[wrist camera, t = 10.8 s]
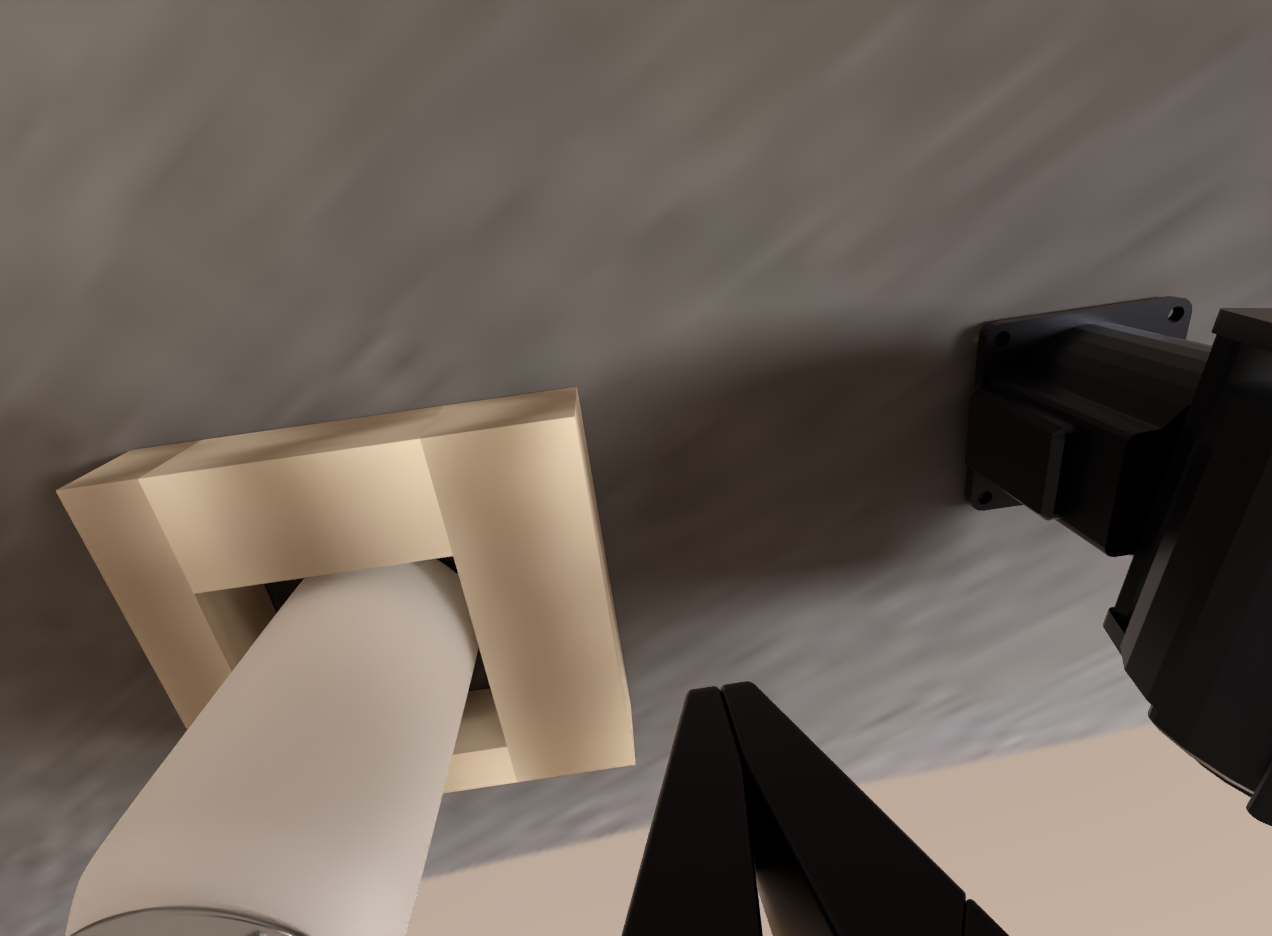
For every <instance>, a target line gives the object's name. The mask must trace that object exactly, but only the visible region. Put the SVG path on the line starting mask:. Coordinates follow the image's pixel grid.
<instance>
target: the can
mask: <svg viewBox="0 0 1272 936" xmlns="http://www.w3.org/2000/svg"><path fill="white" fill-rule="evenodd" d="M478 648H479V646H478V642H477V638H476V635H475V631H474V628H473V624H472V621H471V617H470V614H469V610H468V607H467V603H466V600H465V596H464V592H463V589H462V585H461V582H460V578H459V576H458V575H457V574H456V573H455V572H454V571H453V570H452V569H450V568H449V567H448V566H446V565H445V564H443V563H442V562H440V561H439V560H437V559H430V560H423V561H416V562H409V563H402V564H395V565H388V566H381V567H374V568H368V569H361V570H354V571H347V572H340V573H333V574H326V575H319V576H313V577H306V578H304V579H303V580H302V582H301V583H300V584H299V585H298V586H297V588H296V589H295V590H294V592H293V593H292V594H291V595H290V597H289V598H288V599H287V601H286V602H285V603H284V604H283V606H282V607H281V608H280V610H279V611H278V612H277V613H276V615H275V616H274V617H273V619H272V620H271V621H270V623H269V624H268V625H267V626H266V628H265V629H264V630H263V632H262V633H261V634H260V636H259V637H258V638H257V639H256V641H255V642H254V643H253V645H252V646H251V647H250V649H249V650H248V651H247V652H246V654H245V655H244V656H243V658H242V659H241V660H240V662H239V663H238V664H237V666H236V667H235V668H234V669H233V671H232V672H231V673H230V675H229V676H228V677H227V679H226V680H225V681H224V683H223V684H222V685H221V686H220V688H219V689H218V690H217V692H216V693H215V694H214V696H213V697H212V698H211V700H210V701H209V702H208V704H207V705H206V706H205V707H204V709H203V710H202V711H201V713H200V714H199V715H198V717H197V718H196V719H195V721H194V722H193V723H192V725H191V726H190V727H189V728H188V730H187V731H186V732H185V734H184V735H183V736H182V738H181V739H180V740H179V742H178V743H177V744H176V746H175V747H174V748H173V750H172V751H171V752H170V754H169V755H168V756H167V757H166V759H165V760H164V761H163V763H162V764H161V765H160V767H159V768H158V769H157V771H156V772H155V773H154V775H153V776H152V777H151V779H150V780H149V781H148V783H147V784H146V785H145V787H144V788H143V789H142V791H141V792H140V793H139V795H138V796H137V797H136V799H135V800H134V801H133V803H132V804H131V805H130V807H129V808H128V809H127V811H126V812H125V813H124V815H123V816H122V817H121V819H120V820H119V821H118V823H117V824H116V825H115V827H114V828H113V829H112V831H111V832H110V834H109V835H108V836H107V838H106V839H105V840H104V842H103V843H102V845H101V846H100V847H99V849H98V850H97V852H96V853H95V854H94V856H93V858H92V859H91V861H90V863H89V864H88V866H87V867H86V869H85V871H84V872H83V874H82V876H81V878H80V881H79V883H78V886H77V889H76V892H75V895H74V899H73V902H72V906H71V911H70V915H69V920H68V925H67V930H66V935H65V936H405V935H406V933H407V929H408V926H409V922H410V919H411V915H412V911H413V908H414V904H415V901H416V897H417V893H418V889H419V885H420V881H421V877H422V874H423V870H424V866H425V862H426V858H427V854H428V850H429V846H430V842H431V838H432V834H433V830H434V827H435V823H436V819H437V815H438V811H439V807H440V803H441V799H442V795H443V791H444V787H445V783H446V779H447V775H448V771H449V767H450V763H451V759H452V755H453V751H454V747H455V743H456V739H457V735H458V731H459V727H460V723H461V719H462V715H463V710H464V706H465V702H466V698H467V694H468V690H469V686H470V682H471V678H472V674H473V670H474V665H475V661H476V657H477V653H478Z"/></svg>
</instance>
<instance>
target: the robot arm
mask: <svg viewBox="0 0 1272 936" xmlns="http://www.w3.org/2000/svg"><path fill="white" fill-rule="evenodd" d="M1172 309H1173V313H1172V315H1171V316H1170V317H1169V318H1168V314H1169V312H1170V311H1171V310H1172ZM1191 314H1192V305H1191V303H1190V301H1189V300H1187V299H1185V298H1179V297H1172V296H1167V297H1160V298H1153V299H1146V300H1139V301H1132V302H1125V303H1118V304H1111V305H1104V306H1097V307H1090V308H1083V309H1075V310H1068V311H1061V312H1054V313H1047V314H1040V315H1033V316H1026V317H1019V318H1012V319H1005V320H998V321H994V322H991V323H989V324H988V325H986V326H985V327H984V328H983V330H982V331H981V333H980V336H979V342H978V353H977V364H976V375H975V386H974V390H973V392H972V394H971V396H970V405H969V416H968V427H967V439H966V450H965V463H966V464H967V474H966V485H965V500H966V501H967V503H968V504H970V505H971V506H972V507H973V508H975V509H977V510H991V509H997V508H1004V507H1011V506H1018V505H1025V506H1026V507H1027V508H1029V509H1030V510H1032V511H1033V512H1035V513H1036V514H1037V515H1039V516H1040V517H1042V518H1043V519H1045V520H1056V521H1058V522H1059V523H1061V524H1062V525H1064V526H1065V527H1067V528H1068V529H1070V530H1071V531H1072V532H1074V533H1075V534H1077V535H1078V536H1080V537H1081V538H1083V539H1084V540H1086V541H1087V542H1089V543H1090V544H1092V545H1093V546H1095V547H1096V548H1097V549H1099V550H1100V551H1102V552H1103V553H1105V554H1106V555H1108V556H1110V557H1117V556H1124V555H1131V556H1132V557H1133V559H1132V562H1131V564H1130V567H1129V570H1128V572H1127V575H1126V578H1125V580H1124V583H1123V586H1122V588H1121V591H1120V594H1119V596H1118V599H1117V602H1116V604H1115V607H1112V608H1109V610H1108V613H1107V615H1106V618H1105V621H1104V623H1103V627H1104V629H1105V630H1106V632H1107V633H1108V635H1109V637H1110V638H1111V640H1112V641H1113V643H1114V644H1115V646H1116V648H1117V649H1118V651H1119V652H1120V654H1121V655H1122V659H1123V664H1124V669H1125V671H1126V672H1127V674H1128V675H1129V676H1130V678H1131V679H1132V680H1133V682H1134V683H1135V685H1136V686H1137V687H1138V689H1139V690H1140V691H1141V693H1142V694H1143V696H1144V697H1145V698H1146V700H1147V701H1148V702H1149V703H1150V704H1151V706H1150V709H1149V711H1148V717H1149V718H1150V720H1151V721H1152V722H1153V723H1154V725H1155V726H1156V727H1157V728H1158V729H1159V730H1160V731H1161V732H1162V733H1163V734H1164V735H1166V736H1167V737H1168V738H1169V739H1170V740H1172V741H1173V742H1174V743H1175V744H1176V745H1178V746H1179V747H1180V748H1181V749H1182V750H1184V751H1185V752H1186V753H1188V755H1190V756H1191V757H1193V758H1194V759H1195V760H1196V761H1197V762H1199V763H1200V764H1201V765H1202V766H1203V767H1205V768H1206V769H1207V770H1209V771H1210V772H1211V773H1213V774H1214V775H1216V776H1217V777H1219V778H1220V779H1221V780H1223V781H1224V782H1225V783H1227V784H1229V785H1230V786H1232V787H1234V788H1236V789H1238V790H1239V791H1241V792H1243V793H1244V794H1246V795H1248V796H1249V797H1251V799H1250V800H1249V802H1248V804H1247V806H1246V809H1247V811H1248V812H1249V813H1250V814H1251V815H1252V816H1253V817H1254V818H1256V819H1257V820H1259V821H1261V822H1263V823H1265V824H1268V825H1270V826H1272V308H1221V309H1220V311H1219V313H1218V316H1217V319H1216V321H1215V324H1214V327H1213V329H1212V333H1215V334H1217V335H1216V337H1215V340H1214V343H1213V345H1212V346H1210V345H1206V344H1201V343H1197V342H1192V341H1188V340H1186V336H1187V332H1188V327H1189V323H1190V318H1191ZM1001 331H1002V338H1001V340H1000V341H999V342H998V343H997V344H994V338H995V336H996V335H997V334H998V333H999V332H1001ZM984 491H986V493H985V495H984V496H983V497H982V498H980V499H978V497H979V495H980V494H981V493H982V492H984ZM757 888H758V890H757ZM758 891H759V895H760V898H761V901H762V904H763V907H764V910H765V913H766V916H767V919H768V922H769V925H770V928H771V931H772V934H773V936H1009V935H1008V934H1007V933H1006V932H1005V931H1004V930H1003V929H1002V928H1001V927H1000V926H999V925H998V924H997V923H996V922H995V921H994V920H993V919H992V918H991V917H989V915H988V914H987V913H986V912H985V911H984V910H983V909H982V908H981V907H980V906H979V905H977V903H976V902H975V901H974V900H972V899H968V900H967V901H966V894H965V892H964V891H963V890H962V889H961V888H960V887H959V886H958V885H957V884H956V883H955V882H954V881H953V880H952V879H951V878H950V877H949V876H948V875H947V874H946V873H945V872H944V871H943V870H942V869H941V868H940V867H939V866H938V865H937V864H936V863H935V862H934V861H933V860H932V859H931V858H930V857H929V856H928V855H927V854H926V853H925V852H924V851H923V850H921V848H920V847H919V846H918V845H916V843H914V841H913V840H912V839H910V837H908V836H907V835H906V834H905V833H904V832H903V831H902V830H901V829H900V828H899V827H898V826H897V825H896V824H895V823H894V822H893V821H892V820H891V819H890V818H889V817H888V816H887V815H886V814H885V813H884V812H883V811H882V810H881V809H880V808H879V807H878V806H877V805H876V804H875V803H874V802H873V801H872V800H871V799H870V798H869V797H868V796H867V795H866V794H865V793H864V792H863V791H862V790H861V789H860V788H859V787H858V786H857V785H856V784H855V783H854V782H853V781H852V780H851V779H850V778H849V777H848V776H847V775H846V774H845V773H844V772H843V771H842V770H841V769H840V768H839V767H838V766H837V765H836V764H835V763H834V762H833V761H832V760H831V759H830V758H829V757H828V756H827V755H826V754H825V753H824V752H823V751H821V750H820V749H819V748H818V747H817V746H816V745H815V744H814V743H813V742H812V741H811V740H810V739H809V738H808V737H807V736H806V735H805V734H804V733H803V732H802V731H801V730H800V729H799V728H798V727H797V726H796V725H795V724H794V723H793V722H792V721H791V720H790V719H789V718H788V717H787V716H786V715H785V714H784V713H783V712H782V711H781V710H780V709H779V708H778V707H777V706H776V705H775V704H774V703H773V702H772V701H771V700H770V699H769V698H768V697H767V696H766V695H765V694H764V693H763V692H762V691H761V690H760V689H759V688H758V687H757V686H756V685H755V684H754V683H752V682H749V681H746V682H739V683H732V684H726V685H723V686H722V687H721V690H719V689H718V687H715V686H712V687H706V688H699V689H692V690H690V691H689V692H688V693H687V695H686V698H685V702H684V705H683V709H682V713H681V716H680V720H679V724H678V728H677V731H676V735H675V739H674V742H673V746H672V750H671V754H670V757H669V761H668V765H667V769H666V772H665V776H664V780H663V783H662V787H661V791H660V795H659V798H658V802H657V806H656V809H655V813H654V817H653V821H652V824H651V828H650V832H649V835H648V839H647V843H646V847H645V851H644V854H643V858H642V862H641V865H640V869H639V873H638V876H637V880H636V884H635V888H634V891H633V895H632V899H631V903H630V906H629V910H628V914H627V918H626V921H625V925H624V929H623V932H622V936H763V935H762V926H761V917H760V908H759V899H758Z"/></svg>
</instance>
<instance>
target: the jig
mask: <svg viewBox="0 0 1272 936" xmlns="http://www.w3.org/2000/svg"><path fill="white" fill-rule="evenodd" d="M56 493H57V494H58V496H59V498H60V500H61V502H62V504H63V505H64V507H65V509H66V511H67V513H68V514H69V516H70V518H71V520H72V522H73V524H74V525H75V527H76V529H77V531H78V533H79V534H80V536H81V538H82V540H83V542H84V544H85V545H86V547H87V549H88V551H89V553H90V554H91V556H92V558H93V560H94V562H95V564H96V565H97V567H98V569H99V571H100V573H101V574H102V576H103V578H104V580H105V582H106V584H107V585H108V587H109V589H110V591H111V593H112V594H113V596H114V598H115V600H116V602H117V604H118V605H119V607H120V609H121V611H122V613H123V614H124V616H125V618H126V620H127V622H128V624H129V625H130V627H131V629H132V631H133V633H134V634H135V636H136V638H137V640H138V642H139V643H140V645H141V647H142V649H143V651H144V653H145V654H146V656H147V658H148V660H149V662H150V663H151V665H152V667H153V669H154V671H155V673H156V674H157V676H158V678H159V680H160V682H161V683H162V685H163V687H164V689H165V691H166V693H167V694H168V696H169V698H170V700H171V702H172V703H173V705H174V707H175V709H176V711H177V713H178V714H179V716H180V718H181V720H182V722H183V723H184V725H185V727H186V729H187V730H188V728H189V727H190V726H191V725H192V723H193V722H194V721H195V719H196V718H197V717H198V715H199V714H200V713H201V711H202V710H203V709H204V707H205V706H206V705H207V704H208V702H209V701H210V700H211V698H212V697H213V696H214V694H215V693H216V692H217V690H218V689H219V688H220V686H221V685H222V684H223V683H224V681H225V680H226V679H227V677H228V676H229V675H230V673H231V672H232V671H233V669H234V668H235V667H236V666H237V664H238V663H239V662H240V660H241V659H242V658H243V656H244V655H245V654H246V652H247V651H248V650H249V649H250V647H251V646H252V645H253V643H254V642H255V641H256V639H257V638H258V637H259V636H260V634H261V633H262V632H263V630H264V629H265V628H266V626H267V625H268V624H269V623H270V621H271V620H272V619H273V617H274V616H275V615H276V611H275V609H274V606H273V604H272V602H271V599H270V597H269V595H268V592H267V590H266V588H265V585H264V583H271V582H278V581H285V580H292V579H299V578H306V577H313V576H319V575H326V574H333V573H340V572H347V571H354V570H361V569H368V568H374V567H381V566H388V565H395V564H402V563H409V562H416V561H423V560H430V559H436V558H443V557H450V556H453V557H454V561H455V564H456V568H457V571H458V575H459V578H460V582H461V585H462V589H463V592H464V596H465V600H466V603H467V607H468V610H469V614H470V617H471V621H472V624H473V628H474V631H475V635H476V638H477V642H478V646H479V649H480V653H481V656H482V660H483V663H484V667H485V670H486V674H487V677H488V681H489V684H490V688H489V689H482V690H476V691H469V692H468V694H467V698H466V702H465V706H464V710H463V715H462V719H461V723H460V727H459V731H458V735H457V739H456V743H455V747H454V751H453V755H452V759H451V763H450V767H449V771H448V775H447V779H446V783H445V787H444V791H443V793H449V792H456V791H462V790H469V789H476V788H482V787H489V786H496V785H502V784H509V783H516V782H522V781H529V780H536V779H542V778H549V777H556V776H562V775H569V774H576V773H582V772H589V771H596V770H602V769H609V768H616V767H622V766H629V765H636V764H635V752H634V740H633V727H632V715H631V703H630V696H629V691H628V685H627V679H626V673H625V667H624V661H623V655H622V649H621V644H620V638H619V632H618V626H617V620H616V614H615V608H614V602H613V596H612V591H611V585H610V579H609V573H608V567H607V561H606V555H605V549H604V544H603V538H602V532H601V526H600V520H599V514H598V508H597V502H596V496H595V491H594V485H593V479H592V473H591V467H590V461H589V455H588V449H587V444H586V438H585V432H584V426H583V420H582V414H581V408H580V402H579V396H578V391H577V387H570V388H563V389H556V390H549V391H542V392H535V393H528V394H521V395H514V396H507V397H500V398H493V399H486V400H479V401H472V402H465V403H458V404H451V405H444V406H437V407H430V408H422V409H415V410H408V411H401V412H394V413H387V414H380V415H373V416H366V417H359V418H352V419H345V420H338V421H331V422H324V423H317V424H310V425H303V426H296V427H289V428H282V429H275V430H268V431H261V432H254V433H247V434H240V435H233V436H226V437H218V438H211V439H204V440H197V441H190V442H183V443H176V444H169V445H162V446H155V447H148V448H141V449H134V450H130V451H128V452H126V453H124V454H123V455H121V456H119V457H117V458H115V459H113V460H111V461H110V462H108V463H106V464H104V465H102V466H100V467H98V468H97V469H95V470H93V471H91V472H89V473H87V474H85V475H84V476H82V477H80V478H78V479H76V480H74V481H72V482H71V483H69V484H67V485H65V486H63V487H61V488H59V489H58V490H56Z"/></svg>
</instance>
